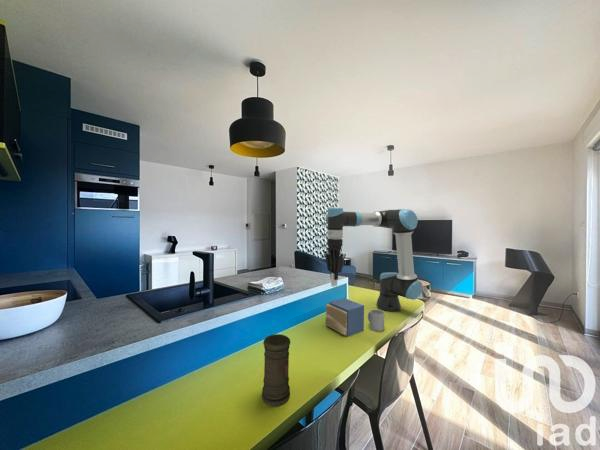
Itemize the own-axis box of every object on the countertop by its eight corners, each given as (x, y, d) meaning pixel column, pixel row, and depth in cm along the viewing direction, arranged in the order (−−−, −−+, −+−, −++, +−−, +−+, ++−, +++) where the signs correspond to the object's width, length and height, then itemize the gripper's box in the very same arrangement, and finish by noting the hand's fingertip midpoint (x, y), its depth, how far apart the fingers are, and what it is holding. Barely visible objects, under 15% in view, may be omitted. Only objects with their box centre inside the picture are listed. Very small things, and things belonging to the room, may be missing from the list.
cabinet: (343, 321, 136) (344, 298, 136) (363, 330, 125) (364, 305, 125) (328, 326, 129) (328, 301, 129) (347, 336, 118) (348, 310, 118)
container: (266, 410, 71) (267, 349, 71) (258, 390, 79) (259, 336, 79) (294, 401, 75) (295, 344, 74) (284, 383, 83) (285, 331, 83)
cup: (376, 332, 123) (377, 315, 123) (363, 325, 132) (363, 308, 131) (387, 330, 126) (387, 313, 126) (373, 322, 135) (373, 306, 135)
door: (326, 323, 130) (327, 303, 129) (346, 334, 117) (347, 312, 117) (324, 324, 129) (325, 303, 129) (344, 335, 117) (345, 312, 117)
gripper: (320, 237, 122) (319, 284, 123) (339, 239, 112) (338, 290, 113) (331, 237, 127) (330, 281, 127) (350, 239, 117) (349, 287, 117)
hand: (334, 285), depth 120 cm, fingers closed
